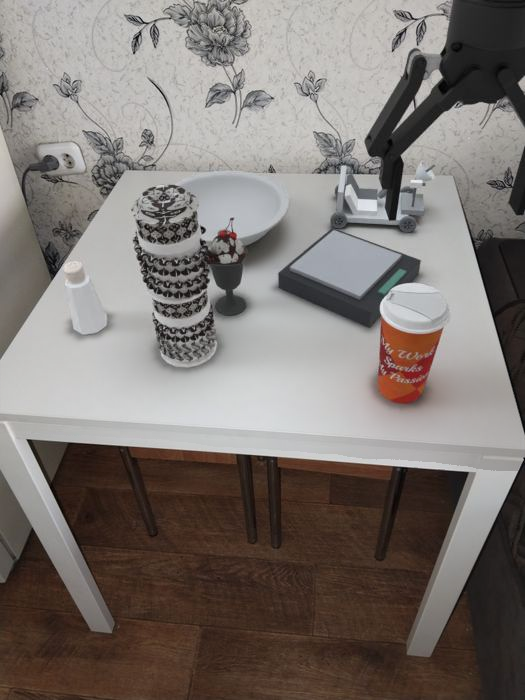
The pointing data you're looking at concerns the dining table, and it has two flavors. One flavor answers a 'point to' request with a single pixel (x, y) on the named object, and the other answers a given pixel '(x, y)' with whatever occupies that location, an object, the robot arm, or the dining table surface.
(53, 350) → the dining table surface
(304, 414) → the dining table surface
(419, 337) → the coffee cup
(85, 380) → the dining table surface
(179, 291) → the decorative candle
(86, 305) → the pepper shaker
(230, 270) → the sundae
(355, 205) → the toy car
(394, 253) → the scale
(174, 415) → the dining table surface
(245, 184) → the white bowl
